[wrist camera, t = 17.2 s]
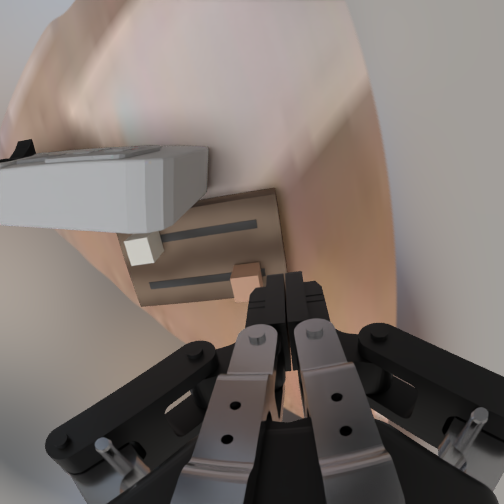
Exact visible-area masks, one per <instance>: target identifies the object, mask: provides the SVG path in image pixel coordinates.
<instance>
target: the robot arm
mask: <svg viewBox="0 0 504 504" xmlns="http://www.w3.org/2000/svg"><path fill="white" fill-rule="evenodd" d="M285 285H286V288H285ZM290 347H291V352H290ZM291 356H292V365H293V370H298V377H299V388H300V394H301V400H302V406H303V412H304V418H303V419H301V420H297V421H293V422H289V423H285V422H282V415H283V405H284V394H285V383H284V382H285V378H286V376H285V371H291ZM393 375H395V376H397V377H399V378H400V379H402V380H404V381H406V382H408V383H410V384H411V385H413V386H414V387H415V388H414V387H412V386H410V385H409V384H407V383H405V382H403V381H401V380H399V379H398V378H396V377H394V376H393ZM189 390H190V392H191V395H190V396H189V397H187V398H186V399H185V400H183V401H182V402H181V403H179V404H178V405H177V406H176V407H174V408H173V409H171V410H170V411H169V412H167V413H166V414H165V410H166V409H167V407H168V406H169V405H170V404H172V403H173V402H174V401H176V400H177V399H178V398H180V397H181V396H182V395H184V394H185V393H187V392H188V391H189ZM371 408H372V409H373V410H375V411H376V412H378V413H379V414H381V415H383V416H384V417H386V418H387V419H389V420H391V421H392V422H394V423H396V424H397V425H399V426H400V427H402V428H404V429H405V430H407V431H409V432H410V433H412V434H414V435H415V436H417V437H419V438H420V439H422V440H424V441H425V442H427V443H429V444H430V445H432V446H434V447H436V448H437V449H438V456H437V455H436V454H434V453H432V452H430V451H429V450H427V449H426V448H425V447H423V446H421V445H420V444H418V443H417V442H415V441H414V440H412V439H411V438H409V437H407V436H406V435H404V434H403V433H402V432H400V431H399V430H397V429H396V428H394V427H393V426H391V425H389V424H387V423H385V422H383V421H380V420H377V419H374V417H373V414H372V411H371ZM45 449H46V452H47V453H48V455H49V456H50V457H51V458H52V459H53V460H54V461H55V462H56V463H57V464H59V465H60V466H61V468H62V469H63V470H64V471H65V472H66V473H67V474H68V475H70V476H71V477H72V479H73V481H74V482H75V484H76V486H77V488H78V489H79V491H80V493H81V494H82V496H83V497H84V499H85V501H86V502H87V504H499V503H498V500H497V498H496V496H495V494H494V493H493V490H494V489H495V487H496V485H497V483H498V482H499V480H500V478H501V476H502V474H503V473H504V377H503V376H501V375H499V374H496V373H494V372H492V371H489V370H487V369H485V368H483V367H481V366H479V365H476V364H474V363H472V362H470V361H467V360H465V359H463V358H461V357H459V356H457V355H454V354H452V353H450V352H448V351H446V350H443V349H441V348H439V347H437V346H435V345H432V344H430V343H428V342H426V341H424V340H422V339H420V338H417V337H415V336H413V335H411V334H409V333H407V332H404V331H402V330H400V329H398V328H396V327H394V326H391V325H389V324H385V323H373V324H369V325H367V326H365V327H363V328H362V329H361V330H360V332H359V334H348V333H343V332H341V331H338V330H337V329H335V327H334V325H333V324H332V323H331V322H330V318H329V314H328V310H327V306H326V302H325V298H324V295H323V290H322V286H320V285H319V284H318V283H317V282H316V281H310V282H303V277H302V271H298V272H289V273H285V280H284V274H283V273H281V274H272V275H267V277H266V287H257V288H255V289H254V290H253V291H252V293H251V294H250V297H249V304H248V311H247V319H246V326H245V329H243V330H242V331H241V332H240V333H239V334H238V337H237V340H236V342H235V343H234V344H232V345H229V346H226V347H223V348H219V349H216V350H215V347H214V345H213V344H211V343H210V342H207V341H194V342H190V343H188V344H186V345H184V346H183V347H181V348H180V349H178V350H177V351H175V352H174V353H172V354H171V355H169V356H168V357H166V358H165V359H163V360H162V361H161V362H159V363H158V364H156V365H155V366H153V367H151V368H150V369H149V370H147V371H146V372H144V373H142V374H141V375H139V376H138V377H136V378H135V379H133V380H132V381H130V382H129V383H127V384H126V385H124V386H123V387H121V388H120V389H118V390H117V391H115V392H113V393H112V394H110V395H109V396H107V397H106V398H104V399H103V400H101V401H99V402H98V403H96V404H95V405H93V406H91V407H90V408H88V409H87V410H85V411H83V412H82V413H80V414H79V415H77V416H75V417H74V418H72V419H70V420H69V421H67V422H66V423H64V424H62V425H61V426H59V427H57V428H56V429H54V430H53V431H52V432H51V433H50V434H49V435H48V437H47V439H46V443H45Z"/></svg>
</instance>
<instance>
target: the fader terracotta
mask: <svg viewBox="0 0 504 504" xmlns="http://www.w3.org/2000/svg"><path fill="white" fill-rule="evenodd" d="M230 281H231V285H232V290H233V294H234V298H235V303H237V302H246V301H249V297H250V294H251V293H252V291H253V290H254V289H255V288H257V287H263V280H262V275H261V269H260V263H259V262H256V263H248V264H240V265H234V267H233V270H232V274H231V277H230Z"/></svg>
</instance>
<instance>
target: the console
mask: <svg viewBox="0 0 504 504" xmlns="http://www.w3.org/2000/svg"><path fill="white" fill-rule="evenodd" d="M159 234H160V238H161V241H162V245H163V248H164V252H163V253H162V254H161V255H160V257H159V258H158V259H157V260H156V261H155V263H149V264H142V265H135V266H131V263H130V260H129V257H128V254H127V250H126V247H125V244H124V241H125V240H126V239H127V238H129V237H130V236H131V235H132V234H126V233H117V237H118V240H119V243H120V246H121V250H122V253H123V256H124V259H125V262H126V265H127V268H128V271H129V274H130V277H131V280H132V283H133V286H134V289H135V292H136V294H137V297H138V300H139V303H140V305H141V307H143V306H155V305H167V304H178V303H189V302H199V301H209V300H219V299H228V298H234V294H233V290H232V285H231V281H230V277H231V274H232V270H233V267H234V265H240V264H248V263H256V262H259V263H260V269H261V275H262V280H263V287H266V277H267V275H272V274H281V273H283V274H284V280H285V273H287V267H286V260H285V252H284V245H283V239H282V232H281V225H280V218H279V212H278V205H277V199H276V192H275V188H271V189H264V190H257V191H251V192H244V193H238V194H232V195H226V196H220V197H215V198H209V199H203V200H198V201H197V202H196V203H195V204H194V205H193V206H192V207H191V208H190V209H189V210H188V211H187V212H186V213H185V214H184V215H182V216H181V217H180V218H179V219H178V220H177V221H176V222H175V223H174V224H173V225H172V226H170V227H168V228H166V229H164V230H161V231H159ZM285 288H286V285H285Z"/></svg>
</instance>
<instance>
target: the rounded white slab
mask: <svg viewBox="0 0 504 504" xmlns="http://www.w3.org/2000/svg"><path fill="white" fill-rule="evenodd" d="M207 174H208V148H207V147H204V146H160V145H149V146H129V147H107V148H92V149H79V150H67V151H57V152H48V153H38V154H36V152H35V148H34V145H33V141H32V139H29V140H24V141H18V143H17V146H16V149H15V151H14V152H13V154H12V155H11V157H10V158H9V159H2V160H0V225H8V226H23V227H39V228H54V229H69V230H83V231H98V232H112V233H126V234H138V233H151V232H156V231H161V230H164V229H166V228H168V227H170V226H172V225H173V224H174V223H175V222H176V221H177V220H178V219H179V218H180V217H181V216H182V215H184V214H185V213H186V212H187V211H188V210H189V209H190V208H191V207H192V206H193V205H194V204H195V203H196V202H197V201H198V200H199V199H200V198H201V197H202V196H203V195H204V194H205V193H206V192H207Z"/></svg>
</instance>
